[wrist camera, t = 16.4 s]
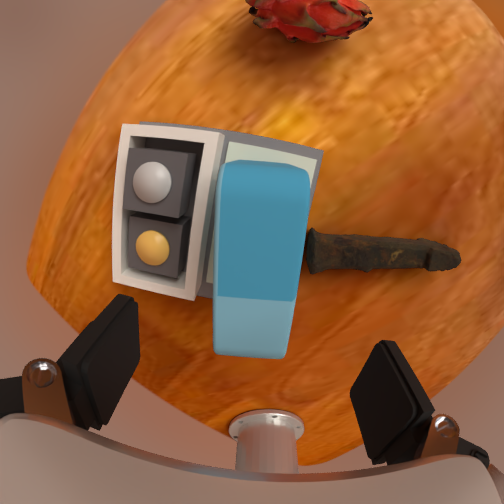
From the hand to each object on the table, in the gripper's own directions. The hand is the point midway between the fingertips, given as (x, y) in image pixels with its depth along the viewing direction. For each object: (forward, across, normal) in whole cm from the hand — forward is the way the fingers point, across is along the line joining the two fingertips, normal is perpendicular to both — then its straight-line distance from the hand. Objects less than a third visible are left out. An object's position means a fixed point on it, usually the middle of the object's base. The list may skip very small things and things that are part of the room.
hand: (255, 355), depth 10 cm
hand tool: (+19, -14, -2) cm, 24 cm away
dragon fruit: (+18, 0, -23) cm, 29 cm away
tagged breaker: (+17, +9, +2) cm, 19 cm away
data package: (+17, 0, -1) cm, 17 cm away
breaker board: (+18, +4, 0) cm, 19 cm away
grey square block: (+15, +9, -4) cm, 18 cm away
